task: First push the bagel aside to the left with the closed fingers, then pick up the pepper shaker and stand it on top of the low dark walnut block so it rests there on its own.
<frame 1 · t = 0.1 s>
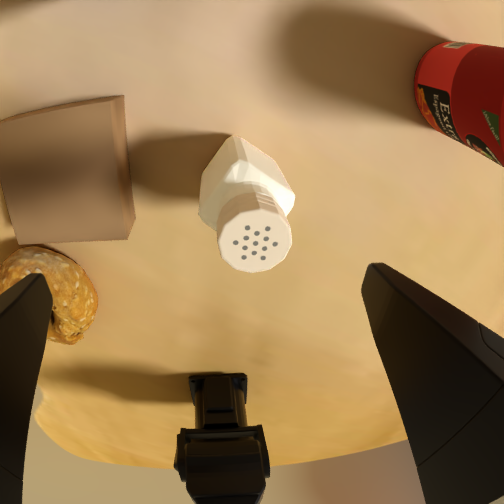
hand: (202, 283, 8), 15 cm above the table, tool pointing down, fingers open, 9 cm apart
canned food: (448, 86, 19), on the table
walnut block: (70, 165, 20), on the table
pepper shaker: (238, 168, 22), on the table
bagel: (52, 285, 25), on the table
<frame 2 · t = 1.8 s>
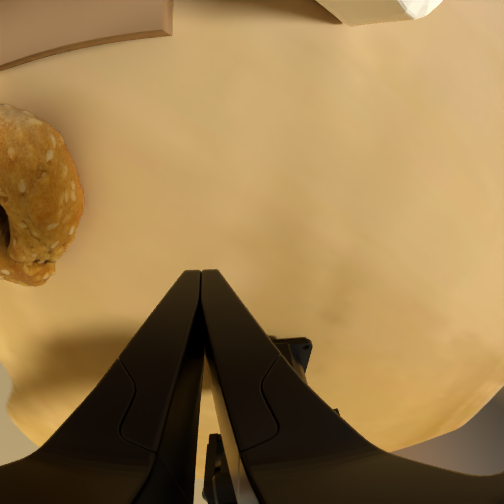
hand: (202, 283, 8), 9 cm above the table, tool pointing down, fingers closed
bagel: (17, 188, 15), on the table
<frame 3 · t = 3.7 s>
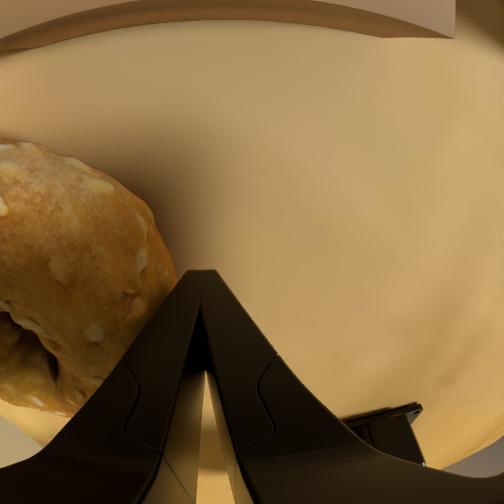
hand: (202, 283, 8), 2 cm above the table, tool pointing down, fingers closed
bagel: (51, 274, 10), on the table, touching gripper
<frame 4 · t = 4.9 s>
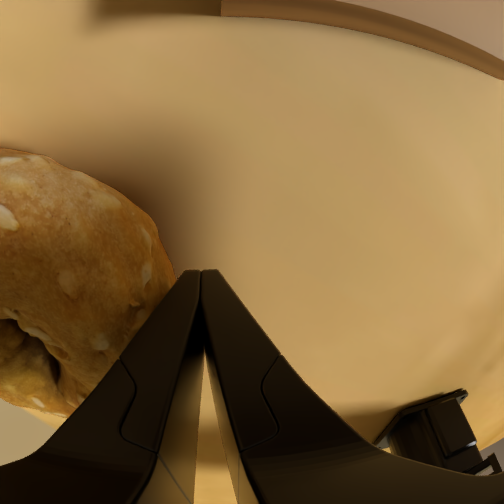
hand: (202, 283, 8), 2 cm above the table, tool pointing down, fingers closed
bagel: (53, 279, 10), on the table
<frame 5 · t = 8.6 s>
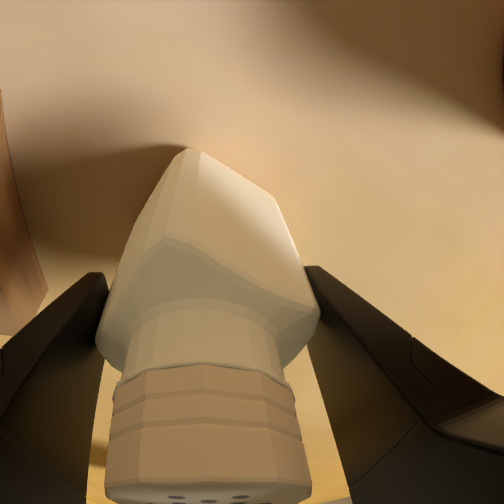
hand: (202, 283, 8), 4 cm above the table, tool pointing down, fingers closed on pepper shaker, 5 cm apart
pepper shaker: (204, 209, 12), on the table, touching gripper
when the fingers open (8 cm above the table, at t = 12.1 s): pepper shaker stays where it is, resting on walnut block.
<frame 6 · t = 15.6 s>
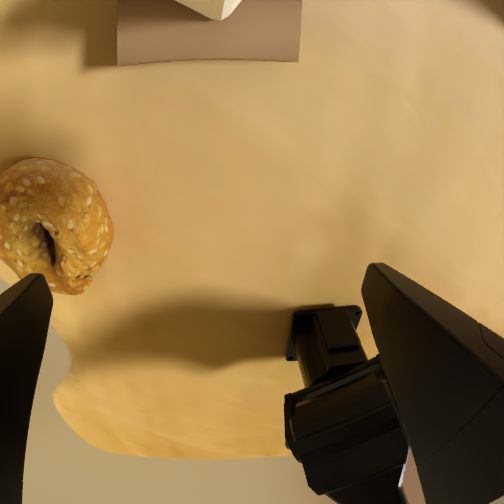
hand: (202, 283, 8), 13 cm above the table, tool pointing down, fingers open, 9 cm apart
bagel: (56, 219, 21), on the table
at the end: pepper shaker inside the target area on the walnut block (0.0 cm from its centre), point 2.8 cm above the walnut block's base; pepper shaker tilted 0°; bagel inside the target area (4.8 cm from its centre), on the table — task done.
